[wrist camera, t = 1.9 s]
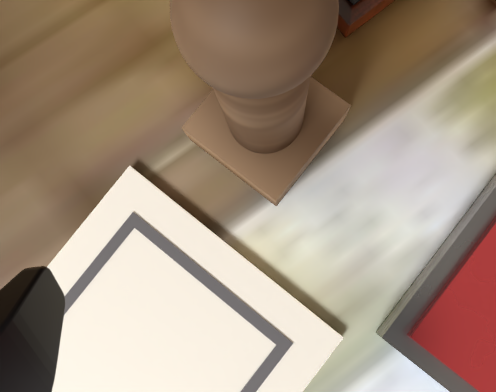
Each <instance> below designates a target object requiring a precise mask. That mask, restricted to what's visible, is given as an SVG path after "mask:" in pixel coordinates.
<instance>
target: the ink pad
mask: <svg viewBox="0 0 496 392" xmlns="http://www.w3.org/2000/svg"><path fill="white" fill-rule="evenodd" d="M376 333H377V334H378V335H379V336H380V337H382V338H383V339H384V340H385V341H387V342H388V343H389V344H390V345H392V346H393V347H394V348H396V349H397V350H398V351H399V352H401V353H402V354H403V355H404V356H406V357H407V358H408V359H409V360H411V361H412V362H413V363H414V364H416V365H417V366H418V367H419V368H421V369H422V370H423V371H425V372H426V373H427V374H428V375H430V376H431V377H432V378H433V379H435V380H436V381H437V382H438V383H440V384H441V385H442V386H443V387H445V388H446V389H447V390H448V391H450V392H496V174H495V175H494V177H493V178H492V179H491V181H490V182H489V183H488V185H487V186H486V187H485V189H484V190H483V191H482V193H481V194H480V195H479V197H478V198H477V199H476V201H475V202H474V203H473V205H472V206H471V207H470V208H469V210H468V211H467V212H466V214H465V215H464V216H463V218H462V219H461V220H460V222H459V223H458V224H457V226H456V227H455V228H454V230H453V231H452V232H451V234H450V235H449V236H448V238H447V239H446V240H445V242H444V243H443V244H442V245H441V247H440V248H439V249H438V251H437V252H436V253H435V255H434V256H433V257H432V259H431V260H430V261H429V263H428V264H427V265H426V267H425V268H424V269H423V271H422V272H421V273H420V275H419V276H418V277H417V279H416V280H415V281H414V283H413V284H412V285H411V286H410V288H409V289H408V290H407V292H406V293H405V294H404V296H403V297H402V298H401V300H400V301H399V302H398V304H397V305H396V306H395V308H394V309H393V310H392V312H391V313H390V314H389V316H388V317H387V318H386V320H385V321H384V322H383V324H382V325H381V326H380V327H379V329H378V330H377V331H376Z"/></svg>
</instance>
